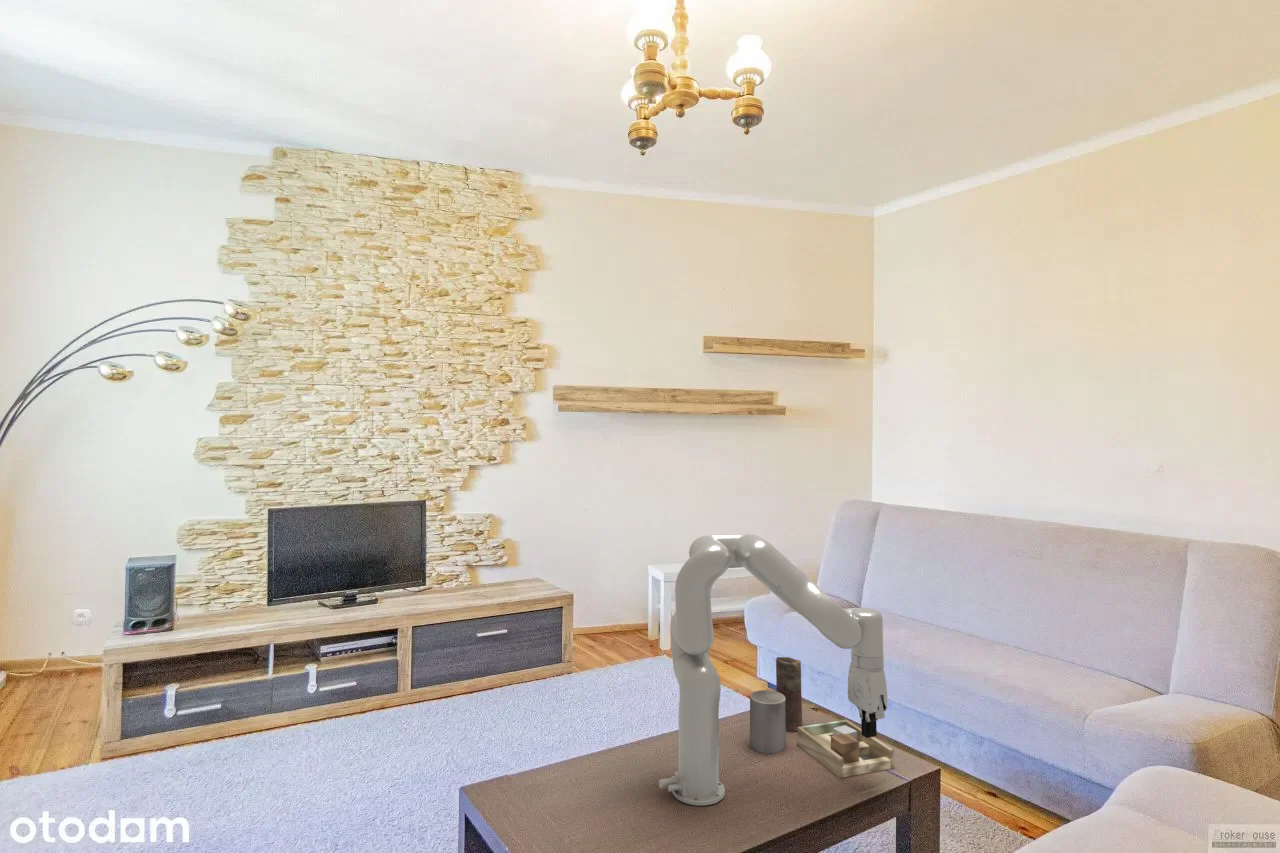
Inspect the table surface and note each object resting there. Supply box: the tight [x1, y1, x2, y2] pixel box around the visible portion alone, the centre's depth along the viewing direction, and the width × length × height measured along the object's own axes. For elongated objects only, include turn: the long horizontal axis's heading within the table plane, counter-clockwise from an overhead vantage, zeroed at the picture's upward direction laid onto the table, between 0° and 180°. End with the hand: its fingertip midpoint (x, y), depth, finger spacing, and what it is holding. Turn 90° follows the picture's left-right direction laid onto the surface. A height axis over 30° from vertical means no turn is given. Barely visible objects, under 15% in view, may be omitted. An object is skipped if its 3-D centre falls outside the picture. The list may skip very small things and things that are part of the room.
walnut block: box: [831, 734, 859, 764], centre depth 182 cm, size 5×5×5 cm
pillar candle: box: [749, 689, 787, 755], centre depth 194 cm, size 10×10×15 cm
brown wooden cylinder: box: [775, 656, 803, 733], centre depth 207 cm, size 8×7×20 cm
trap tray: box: [796, 719, 895, 779], centre depth 188 cm, size 16×20×5 cm
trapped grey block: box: [833, 725, 857, 740], centre depth 194 cm, size 4×4×4 cm
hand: (869, 735), depth 173 cm, fingers closed
